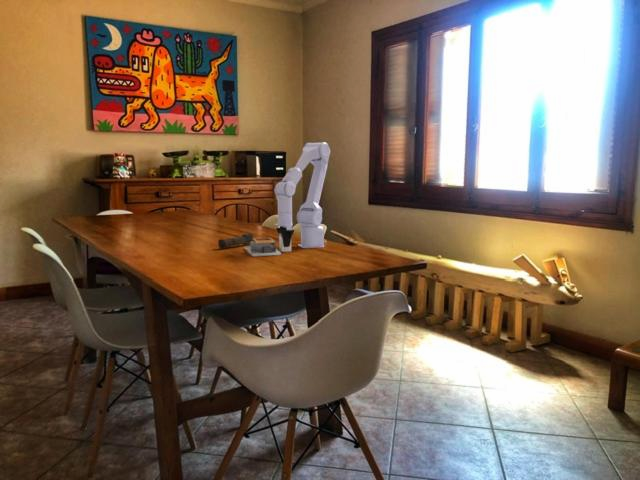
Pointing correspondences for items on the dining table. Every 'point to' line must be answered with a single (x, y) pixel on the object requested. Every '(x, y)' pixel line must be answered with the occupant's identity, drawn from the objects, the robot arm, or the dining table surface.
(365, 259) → the dining table surface
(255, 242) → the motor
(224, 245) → the hand tool
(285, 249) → the block
